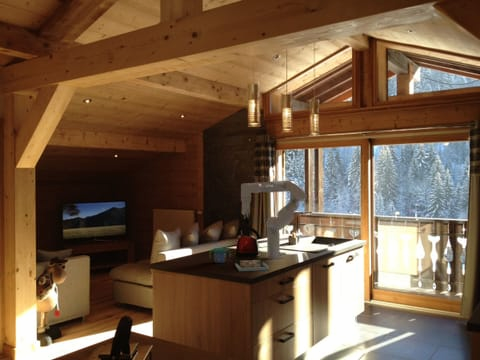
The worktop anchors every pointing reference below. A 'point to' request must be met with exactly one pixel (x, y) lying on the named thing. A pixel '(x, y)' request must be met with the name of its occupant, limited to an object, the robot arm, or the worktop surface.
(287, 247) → the worktop surface
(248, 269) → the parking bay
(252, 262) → the T block
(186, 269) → the worktop surface
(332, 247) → the worktop surface
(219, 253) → the snack cup
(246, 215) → the robot arm
